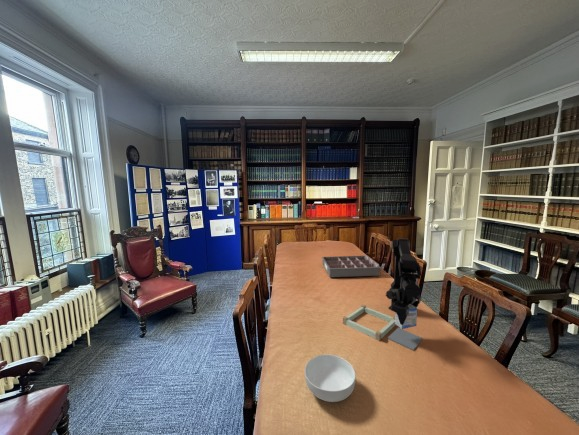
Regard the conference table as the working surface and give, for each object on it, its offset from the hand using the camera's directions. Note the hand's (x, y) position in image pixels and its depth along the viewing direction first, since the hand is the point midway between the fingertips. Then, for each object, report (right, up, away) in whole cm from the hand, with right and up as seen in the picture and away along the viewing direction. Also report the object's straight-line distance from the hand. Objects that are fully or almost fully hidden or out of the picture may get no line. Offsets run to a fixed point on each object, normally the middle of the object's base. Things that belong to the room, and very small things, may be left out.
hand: (405, 320), depth 106 cm
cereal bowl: (-38, -13, -25) cm, 48 cm away
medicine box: (0, -2, 0) cm, 2 cm away
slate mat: (0, -9, +1) cm, 9 cm away
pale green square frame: (-11, -7, +13) cm, 19 cm away
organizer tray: (-3, +2, +89) cm, 89 cm away
